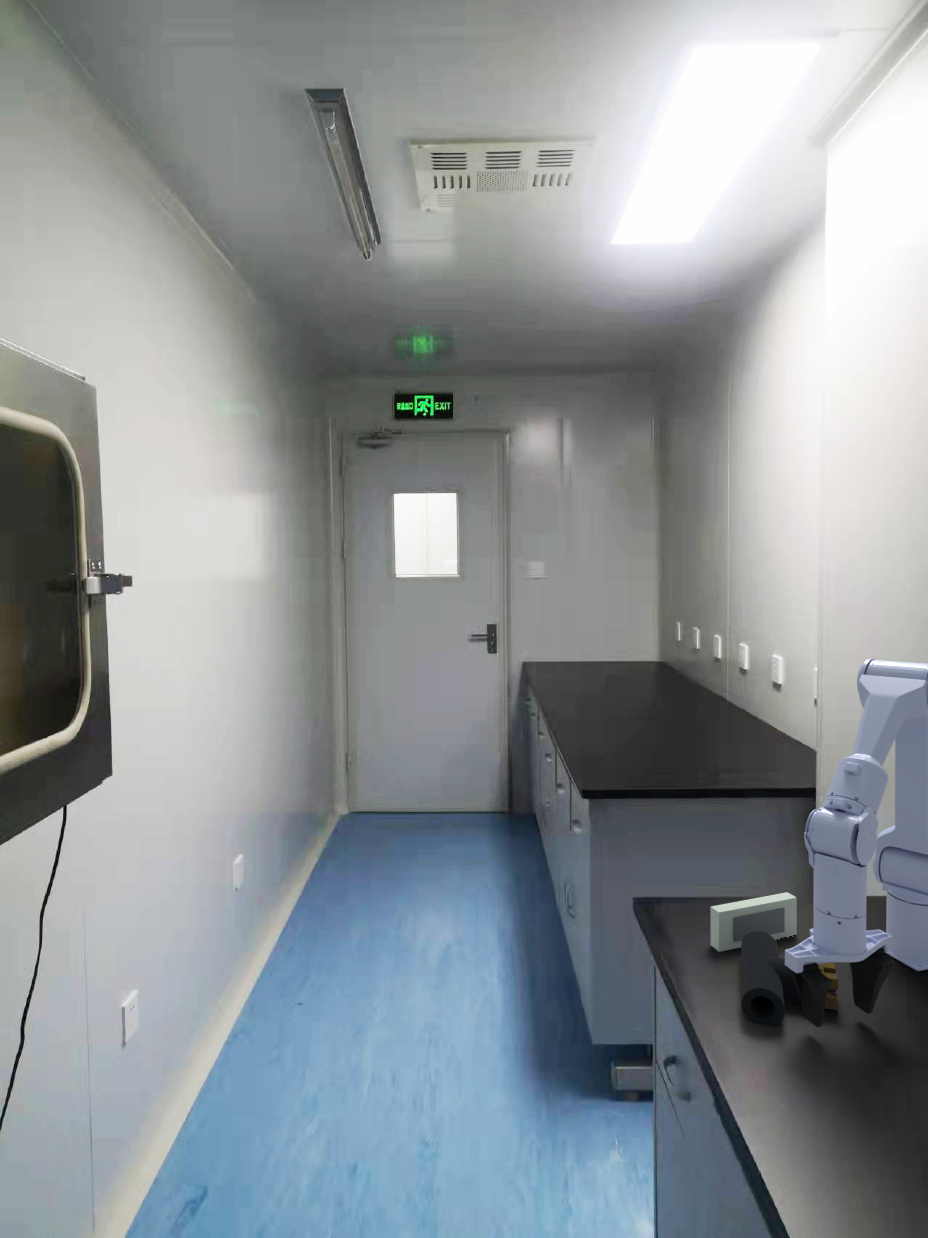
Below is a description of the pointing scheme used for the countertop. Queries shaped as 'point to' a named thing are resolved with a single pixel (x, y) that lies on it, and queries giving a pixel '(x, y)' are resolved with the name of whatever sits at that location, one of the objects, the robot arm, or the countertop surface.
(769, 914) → the block
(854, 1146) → the countertop surface
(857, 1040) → the countertop surface
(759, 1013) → the pipe connector
